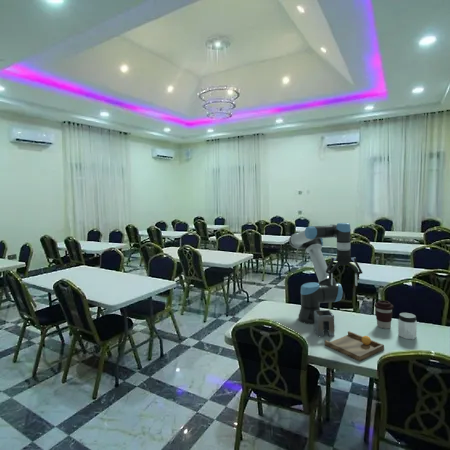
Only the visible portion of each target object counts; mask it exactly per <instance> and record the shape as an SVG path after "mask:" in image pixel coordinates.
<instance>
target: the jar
mask: <svg viewBox="0 0 450 450" xmlns="http://www.w3.org/2000/svg"><path fill="white" fill-rule="evenodd" d="M397 322H398V324H397V325H398V326H397V327H398V330H397V331H398V332H397V333H398V334H397V335H398V336H399V337H401V338H403V339H405V340H407V339H408V340H415V338H417V332H418V331H417V328H418V327H417V323H418V321H417V316H416V315H415V314H413V313H409V312H400V313H399V316H398V321H397Z"/></svg>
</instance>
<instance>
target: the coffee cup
mask: <svg viewBox="0 0 450 450" xmlns="http://www.w3.org/2000/svg"><path fill="white" fill-rule="evenodd" d="M374 307H375V317H376V319H375V320H376V325H377V327H378V328H380V329H383V330H384V329H390V328H391V326H392V319H393V309H394V304H392V303H391V302H390V301H388V300H378V301H377V302H375V303H374Z"/></svg>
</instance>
